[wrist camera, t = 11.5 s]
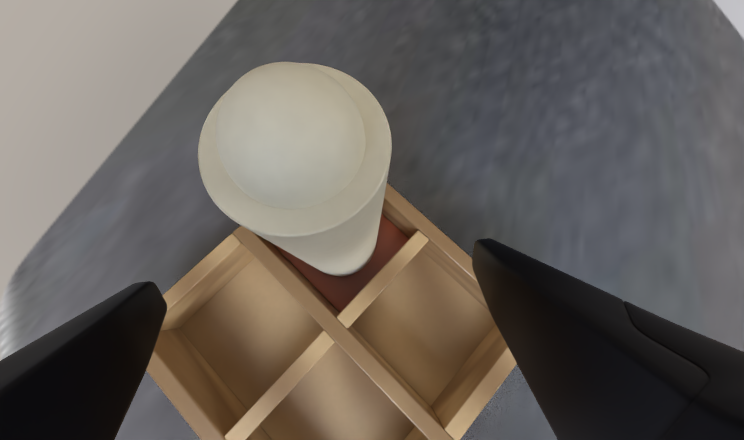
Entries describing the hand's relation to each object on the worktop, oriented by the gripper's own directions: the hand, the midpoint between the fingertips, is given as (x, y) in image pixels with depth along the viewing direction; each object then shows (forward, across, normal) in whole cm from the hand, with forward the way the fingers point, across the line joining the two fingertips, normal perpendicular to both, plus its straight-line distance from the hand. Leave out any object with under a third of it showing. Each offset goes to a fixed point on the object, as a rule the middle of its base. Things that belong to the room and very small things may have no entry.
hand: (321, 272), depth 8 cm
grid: (+6, 0, +9) cm, 10 cm away
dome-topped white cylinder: (+9, 0, +5) cm, 10 cm away
